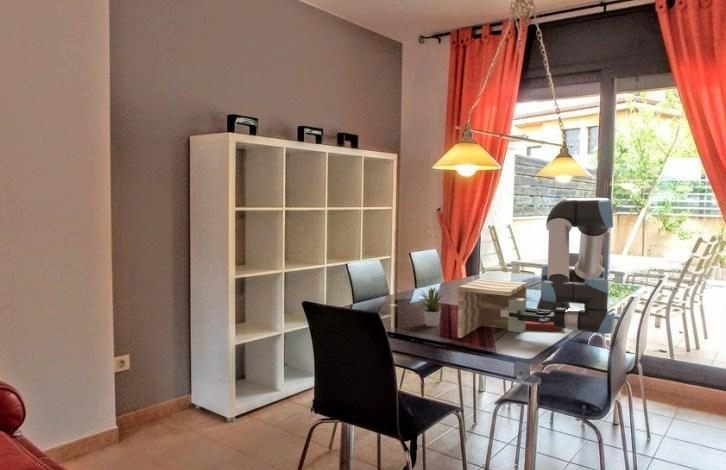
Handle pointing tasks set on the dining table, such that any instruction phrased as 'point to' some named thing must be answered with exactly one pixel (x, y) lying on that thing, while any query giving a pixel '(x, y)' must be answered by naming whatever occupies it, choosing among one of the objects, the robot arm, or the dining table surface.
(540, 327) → the plant saucer
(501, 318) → the cubby box
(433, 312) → the house plant
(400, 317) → the dining table surface
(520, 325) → the tall block
